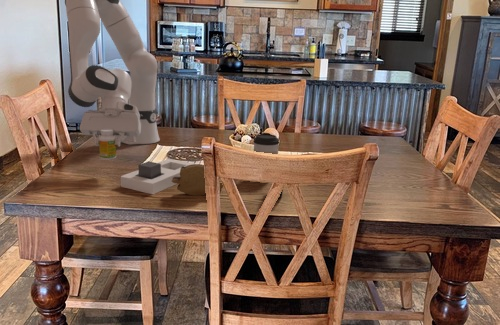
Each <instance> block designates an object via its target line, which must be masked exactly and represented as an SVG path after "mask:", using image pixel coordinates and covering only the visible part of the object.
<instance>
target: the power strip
mask: <svg viewBox="0 0 500 325" xmlns="http://www.w3.org/2000/svg"><path fill="white" fill-rule="evenodd" d="M192 164H195V163H193V162H189V161H182V160H179V159H174V158H167V159H165V160H162V161H159V162H153V161H146V162H142V163H139V164H137V165H138V170H134V171H132V172H128V173H125V174H123V175H121V176H120V187H121V188H125V189H129V190H134V191H137V192H141V193H144V194H145V193H146V194H150V195H155V194H157V193H159V192H161V191H164V190H167V189H169V188H171V187H173V186H175V185H178V184H177V183H173V182H172V179H173V177H180V170H181V167H186V166H188V165H192Z"/></svg>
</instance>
